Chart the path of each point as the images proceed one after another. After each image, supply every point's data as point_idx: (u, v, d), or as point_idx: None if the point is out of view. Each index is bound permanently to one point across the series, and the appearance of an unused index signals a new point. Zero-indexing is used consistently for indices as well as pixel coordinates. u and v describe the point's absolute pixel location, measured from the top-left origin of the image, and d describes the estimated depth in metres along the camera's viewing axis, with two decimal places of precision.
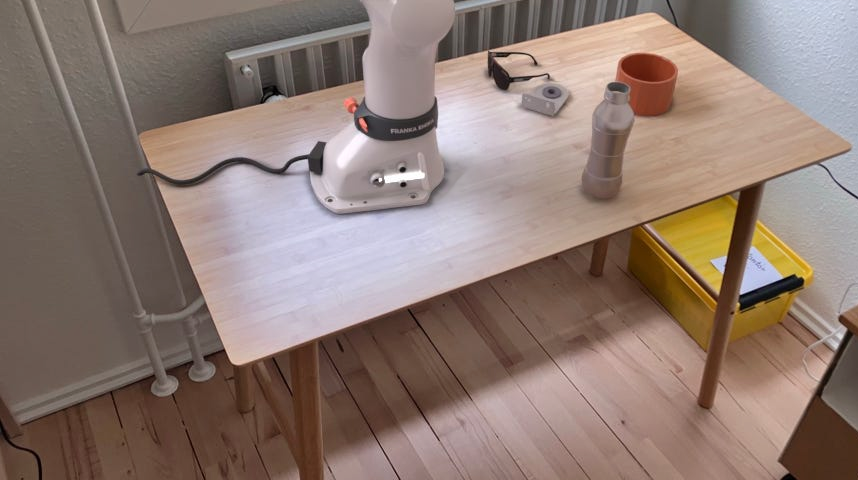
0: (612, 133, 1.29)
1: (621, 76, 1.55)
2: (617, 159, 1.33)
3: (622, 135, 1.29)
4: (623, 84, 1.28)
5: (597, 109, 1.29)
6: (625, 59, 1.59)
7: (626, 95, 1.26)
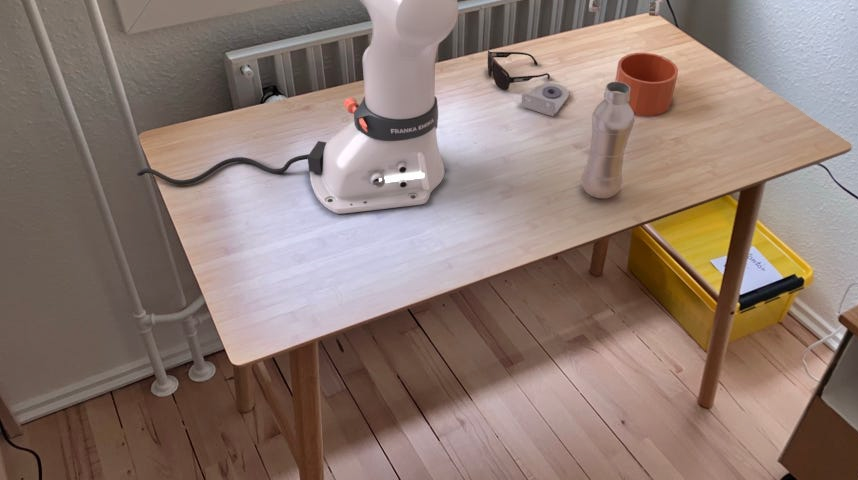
0: (612, 133, 1.29)
1: (621, 76, 1.55)
2: (617, 159, 1.33)
3: (622, 135, 1.29)
4: (623, 84, 1.28)
5: (597, 109, 1.29)
6: (625, 59, 1.59)
7: (626, 95, 1.26)
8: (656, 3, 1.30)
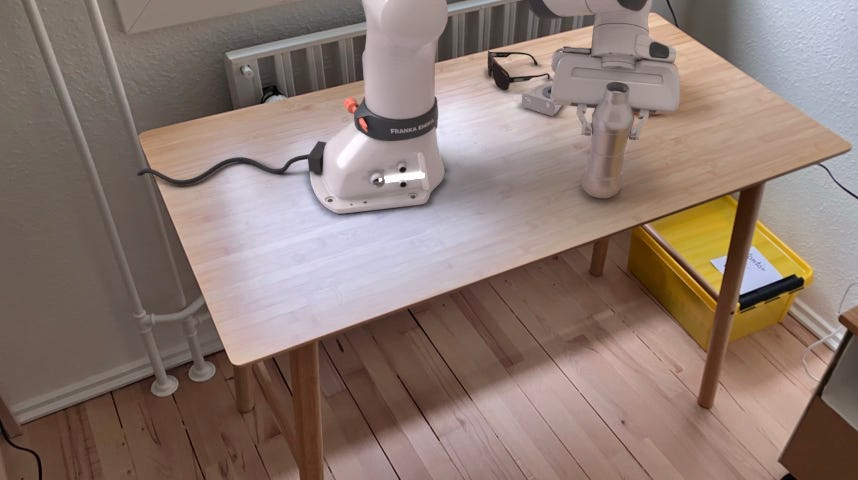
0: (612, 133, 1.29)
1: None
2: (617, 159, 1.33)
3: (622, 135, 1.29)
4: (622, 84, 1.28)
5: (597, 109, 1.29)
6: None
7: (625, 95, 1.26)
8: (637, 128, 1.31)
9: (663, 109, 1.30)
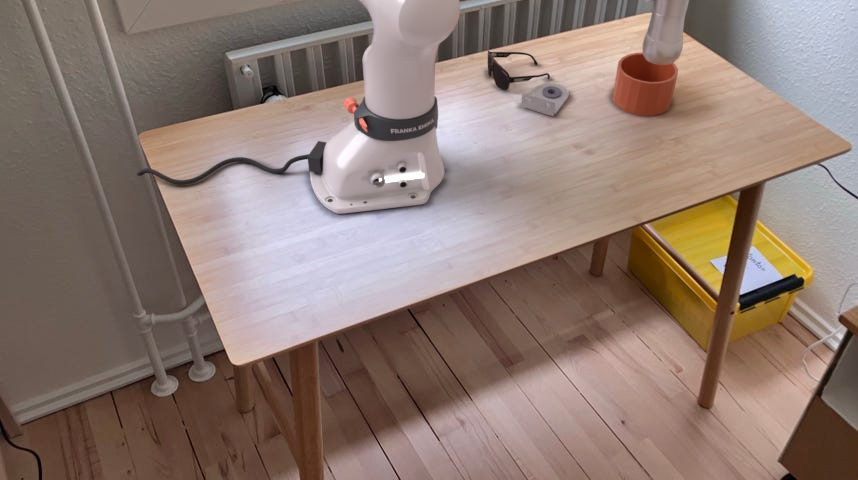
0: None
1: (621, 76, 1.55)
2: (683, 18, 1.35)
3: None
4: None
5: None
6: (625, 59, 1.59)
7: None
8: None
9: None
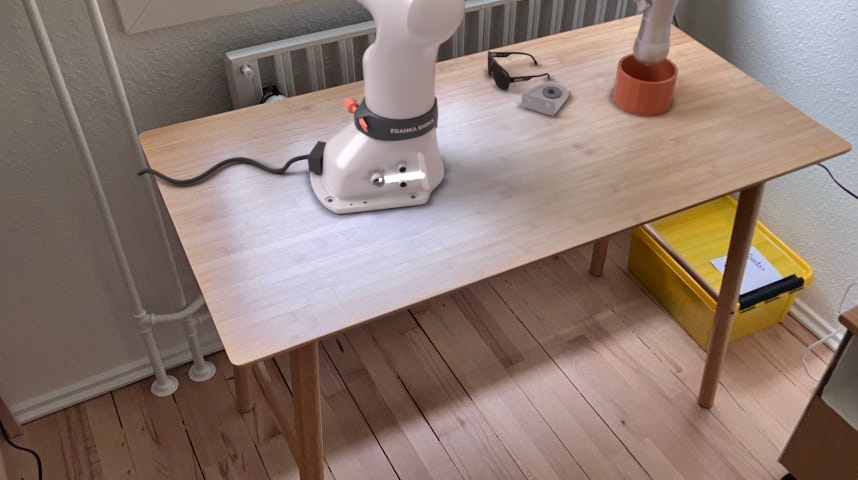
0: None
1: (621, 76, 1.55)
2: None
3: None
4: None
5: None
6: (625, 59, 1.59)
7: None
8: None
9: None
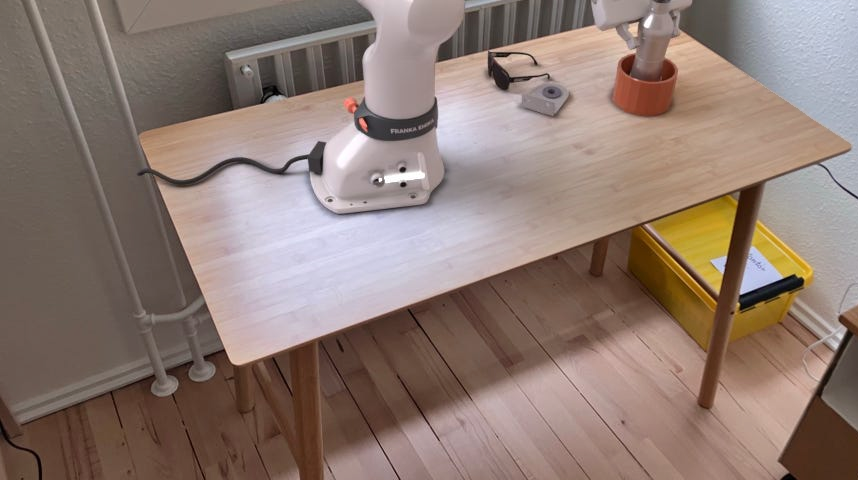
0: (665, 39, 1.50)
1: (621, 76, 1.55)
2: None
3: (669, 39, 1.51)
4: None
5: (646, 23, 1.49)
6: (625, 59, 1.59)
7: None
8: (676, 27, 1.53)
9: (684, 6, 1.54)
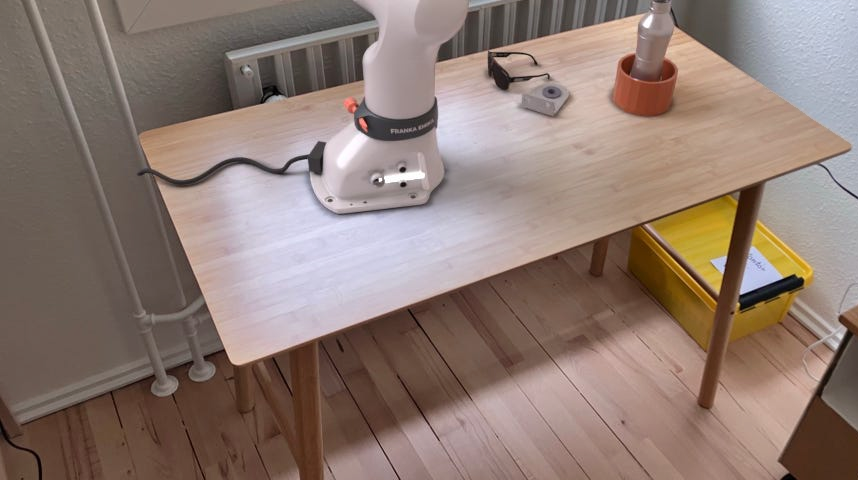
0: (665, 39, 1.50)
1: (621, 76, 1.55)
2: None
3: (669, 39, 1.51)
4: None
5: (646, 23, 1.49)
6: (625, 59, 1.59)
7: None
8: None
9: None
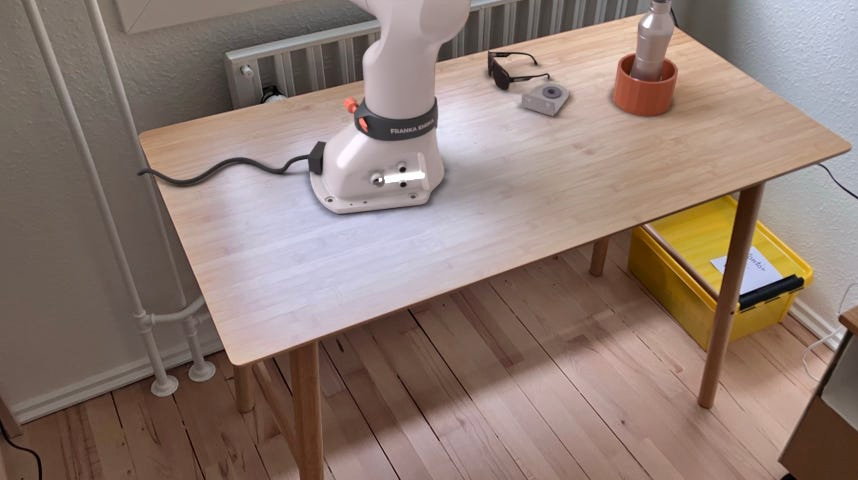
0: (665, 39, 1.50)
1: (621, 76, 1.55)
2: None
3: (669, 39, 1.51)
4: None
5: (646, 23, 1.49)
6: (625, 59, 1.59)
7: None
8: None
9: None
